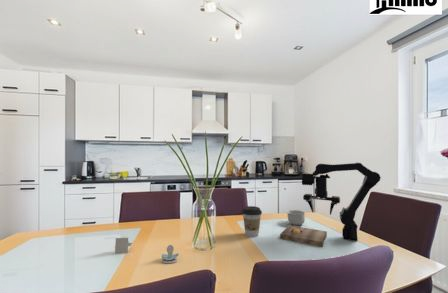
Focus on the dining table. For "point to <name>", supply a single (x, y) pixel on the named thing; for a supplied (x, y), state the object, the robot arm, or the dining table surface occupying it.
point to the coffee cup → (251, 220)
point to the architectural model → (122, 245)
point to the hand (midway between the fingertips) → (321, 213)
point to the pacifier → (169, 255)
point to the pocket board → (304, 236)
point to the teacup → (296, 217)
